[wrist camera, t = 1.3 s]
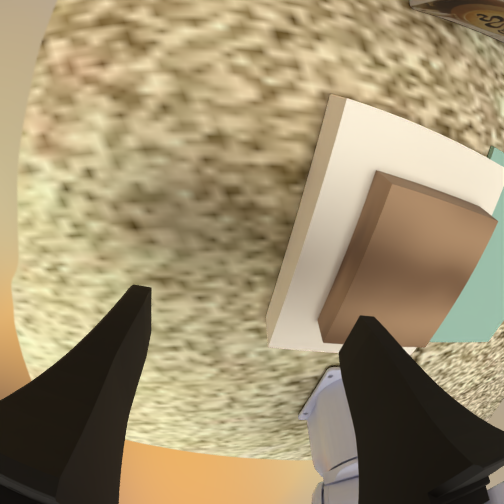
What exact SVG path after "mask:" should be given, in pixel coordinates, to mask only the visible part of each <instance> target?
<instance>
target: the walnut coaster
mask: <svg viewBox="0 0 504 504" xmlns="http://www.w3.org/2000/svg"><path fill="white" fill-rule="evenodd" d="M497 223H498V221H497V220H496V219H495V218H494V217H492V216H491V215H490V214H489V213H488V212H486V211H485V210H484V209H483V208H481V207H480V206H478V205H475V204H473V203H470V202H468V201H465V200H462V199H460V198H457V197H455V196H452V195H449V194H447V193H444V192H441V191H438V190H436V189H433V188H430V187H427V186H424V185H421V184H418V183H415V182H412V181H409V180H406V179H403V178H400V177H397V176H394V175H391V174H387V173H384V172H381V171H377V170H376V172H375V175H374V177H373V180H372V183H371V186H370V189H369V192H368V195H367V198H366V200H365V203H364V206H363V209H362V211H361V214H360V217H359V220H358V222H357V225H356V228H355V230H354V233H353V235H352V238H351V241H350V243H349V246H348V248H347V251H346V253H345V256H344V258H343V261H342V263H341V266H340V268H339V271H338V273H337V275H336V278H335V280H334V283H333V285H332V287H331V290H330V292H329V294H328V297H327V299H326V301H325V303H324V306H323V308H322V310H321V313H320V315H319V317H318V319H317V321H318V325H319V329H320V333H321V337H322V341H323V343H331V344H344V342H345V341H346V339H347V337H348V335H349V334H350V332H351V330H352V328H353V327H354V325H355V323H356V321H357V319H358V318H359V316H360V315H363V316H374V317H375V318H376V319H377V320H378V321H379V322H380V323H381V324H382V325H383V326H384V327H385V328H386V329H387V331H388V332H389V333H390V334H391V335H392V336H393V337H394V338H395V340H396V341H397V342H398V343H399V344H400V345H401V346H402V347H426V345H427V344H428V343H429V341H430V340H431V338H432V337H433V335H434V334H435V333H436V331H437V330H438V328H439V327H440V325H441V324H442V322H443V321H444V319H445V318H446V316H447V315H448V313H449V311H450V310H451V308H452V307H453V305H454V304H455V302H456V300H457V299H458V297H459V295H460V294H461V292H462V290H463V289H464V287H465V285H466V283H467V282H468V280H469V278H470V276H471V275H472V273H473V271H474V269H475V267H476V266H477V264H478V262H479V260H480V258H481V256H482V254H483V252H484V250H485V248H486V246H487V244H488V242H489V240H490V238H491V236H492V234H493V232H494V230H495V228H496V225H497Z"/></svg>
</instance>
